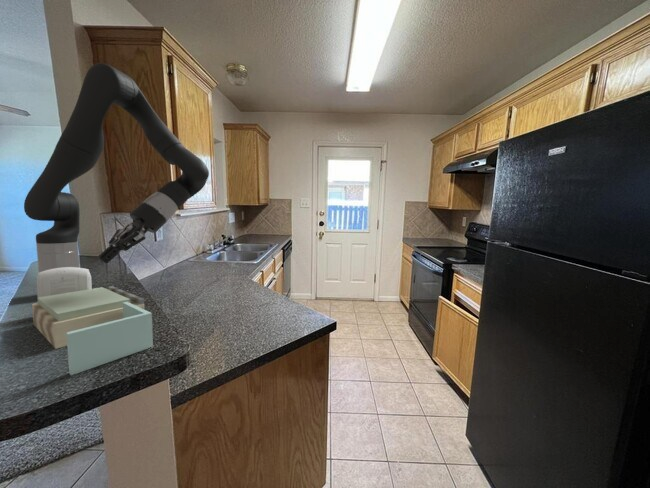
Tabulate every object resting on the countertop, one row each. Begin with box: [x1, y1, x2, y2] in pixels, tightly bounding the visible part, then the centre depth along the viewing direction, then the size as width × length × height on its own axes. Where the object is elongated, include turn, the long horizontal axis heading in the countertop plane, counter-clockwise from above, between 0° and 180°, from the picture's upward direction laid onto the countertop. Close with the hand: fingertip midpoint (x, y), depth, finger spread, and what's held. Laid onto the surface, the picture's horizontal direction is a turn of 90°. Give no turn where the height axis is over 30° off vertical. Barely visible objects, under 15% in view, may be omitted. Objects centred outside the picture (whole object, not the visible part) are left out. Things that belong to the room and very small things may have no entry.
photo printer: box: [36, 267, 93, 298], centre depth 68 cm, size 10×4×12 cm, turn 123°
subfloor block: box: [31, 285, 146, 350], centre depth 62 cm, size 20×15×6 cm
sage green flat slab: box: [36, 286, 130, 321], centre depth 61 cm, size 18×12×2 cm, turn 56°
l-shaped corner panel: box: [66, 302, 154, 376], centre depth 50 cm, size 12×12×8 cm
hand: (101, 260), depth 63 cm, fingers closed
